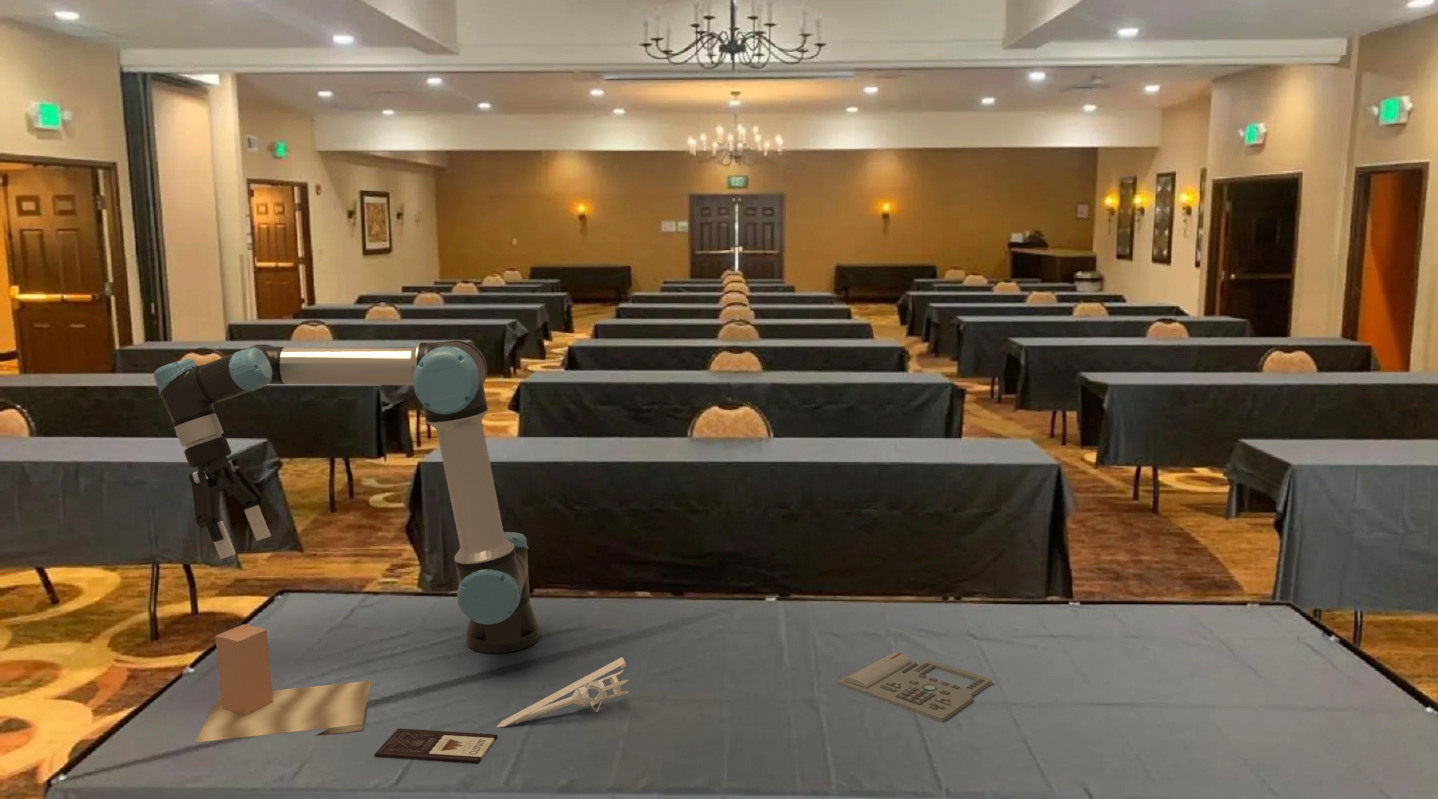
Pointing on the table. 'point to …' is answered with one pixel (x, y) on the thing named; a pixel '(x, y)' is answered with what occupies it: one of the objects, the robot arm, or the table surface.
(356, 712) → the birch board
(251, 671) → the terracotta block
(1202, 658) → the table surface
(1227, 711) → the table surface
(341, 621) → the table surface
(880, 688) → the office telephone
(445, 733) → the chocolate bar
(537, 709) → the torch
